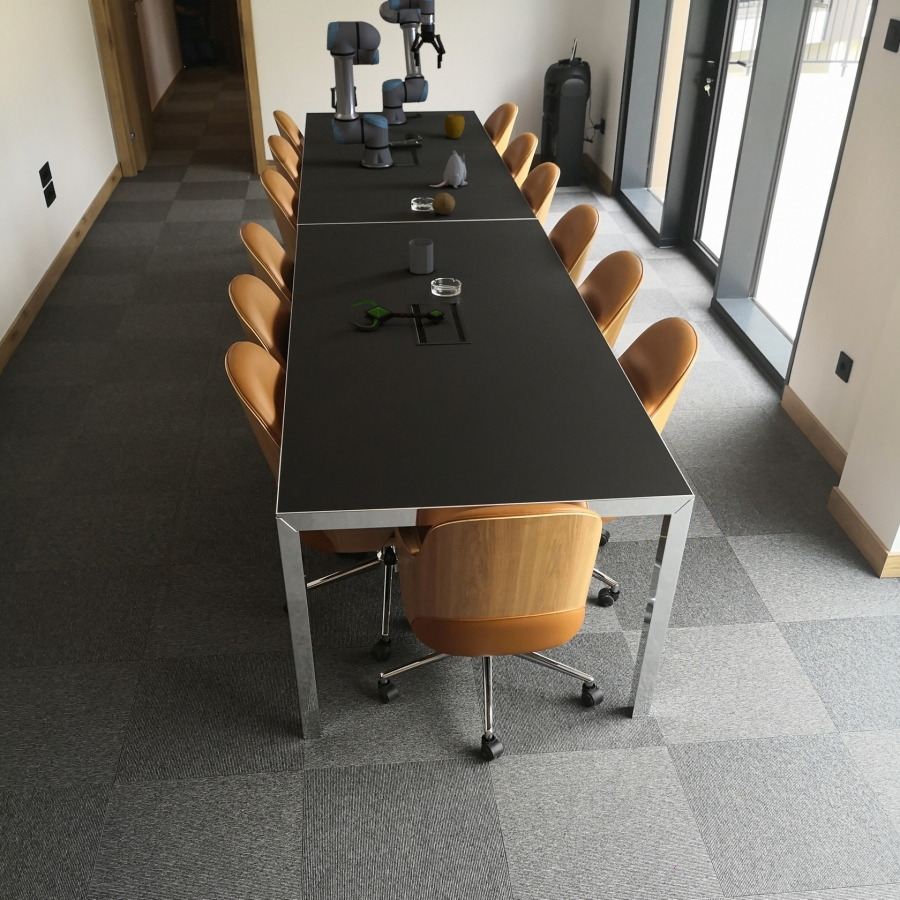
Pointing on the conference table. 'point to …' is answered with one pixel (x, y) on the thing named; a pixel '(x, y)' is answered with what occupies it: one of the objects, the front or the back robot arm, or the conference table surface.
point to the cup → (421, 256)
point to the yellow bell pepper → (454, 125)
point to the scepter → (391, 315)
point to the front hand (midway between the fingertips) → (345, 121)
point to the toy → (454, 171)
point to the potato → (443, 203)
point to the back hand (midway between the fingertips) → (428, 67)
